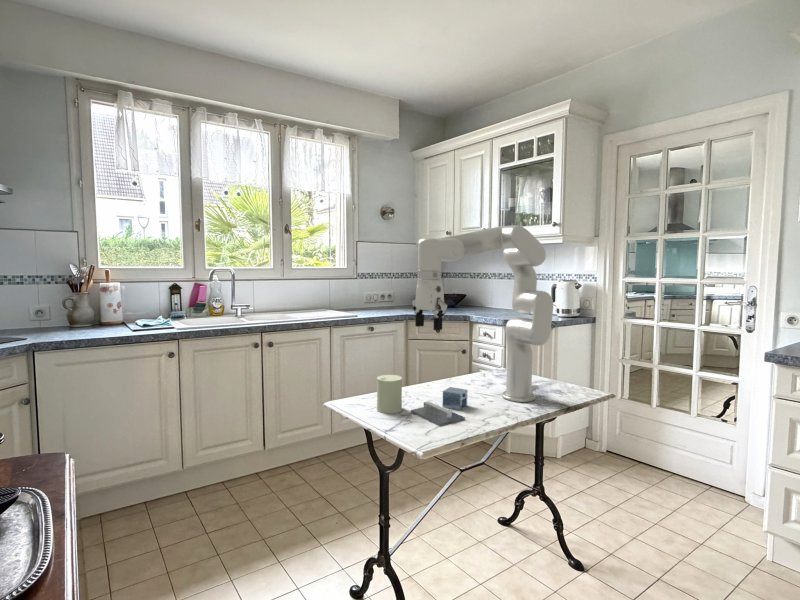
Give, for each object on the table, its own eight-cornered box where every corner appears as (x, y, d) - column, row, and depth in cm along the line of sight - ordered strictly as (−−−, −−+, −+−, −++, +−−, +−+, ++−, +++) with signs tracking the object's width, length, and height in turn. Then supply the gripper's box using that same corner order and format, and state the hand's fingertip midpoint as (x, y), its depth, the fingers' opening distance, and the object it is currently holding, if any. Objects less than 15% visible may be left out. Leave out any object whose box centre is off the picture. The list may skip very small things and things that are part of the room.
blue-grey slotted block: (450, 402, 170) (450, 386, 170) (468, 405, 166) (468, 389, 166) (442, 407, 165) (442, 391, 164) (461, 410, 161) (461, 394, 160)
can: (371, 408, 163) (371, 375, 162) (392, 403, 168) (392, 372, 167) (385, 415, 156) (385, 381, 155) (407, 410, 161) (407, 377, 160)
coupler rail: (435, 406, 165) (435, 398, 165) (464, 419, 152) (464, 410, 151) (410, 412, 159) (410, 403, 158) (439, 426, 146) (439, 416, 145)
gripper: (455, 277, 143) (454, 330, 144) (422, 275, 157) (421, 324, 158) (437, 277, 138) (436, 332, 140) (404, 275, 152) (404, 325, 154)
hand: (428, 328), depth 149 cm, fingers open, 9 cm apart
